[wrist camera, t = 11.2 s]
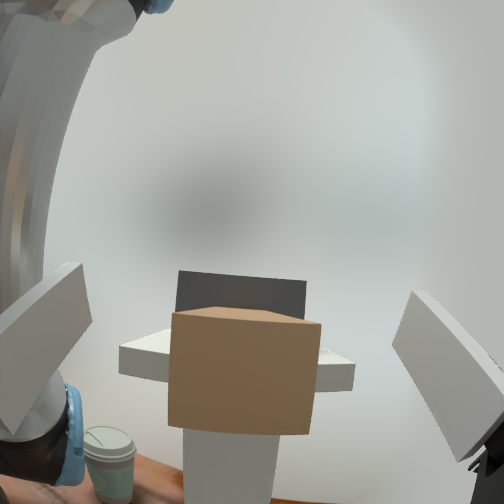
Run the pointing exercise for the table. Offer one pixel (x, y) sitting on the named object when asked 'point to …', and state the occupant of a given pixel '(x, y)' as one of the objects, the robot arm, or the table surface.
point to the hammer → (242, 355)
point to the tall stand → (225, 444)
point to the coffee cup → (110, 462)
